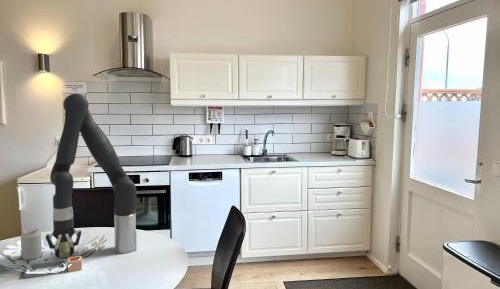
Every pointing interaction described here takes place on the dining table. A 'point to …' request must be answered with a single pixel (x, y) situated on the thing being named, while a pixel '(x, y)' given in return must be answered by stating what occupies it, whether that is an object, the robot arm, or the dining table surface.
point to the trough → (45, 264)
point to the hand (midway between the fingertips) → (64, 255)
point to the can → (31, 244)
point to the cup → (75, 263)
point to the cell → (64, 250)
